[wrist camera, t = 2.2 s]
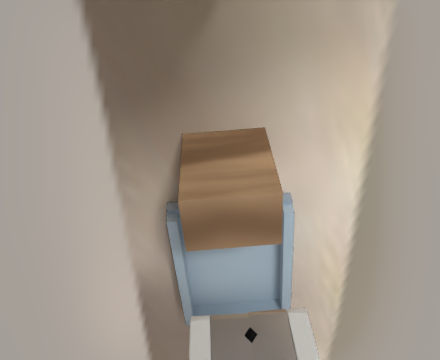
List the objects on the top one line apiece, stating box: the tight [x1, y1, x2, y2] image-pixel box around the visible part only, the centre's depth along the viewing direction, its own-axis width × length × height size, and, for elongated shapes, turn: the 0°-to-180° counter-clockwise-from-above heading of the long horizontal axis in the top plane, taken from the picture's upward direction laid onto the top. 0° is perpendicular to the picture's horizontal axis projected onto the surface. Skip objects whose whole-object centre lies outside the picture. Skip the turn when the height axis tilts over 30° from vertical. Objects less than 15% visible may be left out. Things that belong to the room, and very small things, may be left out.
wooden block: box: [178, 128, 283, 252], centre depth 28 cm, size 4×6×8 cm, turn 94°
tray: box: [166, 193, 294, 326], centre depth 36 cm, size 13×10×2 cm
